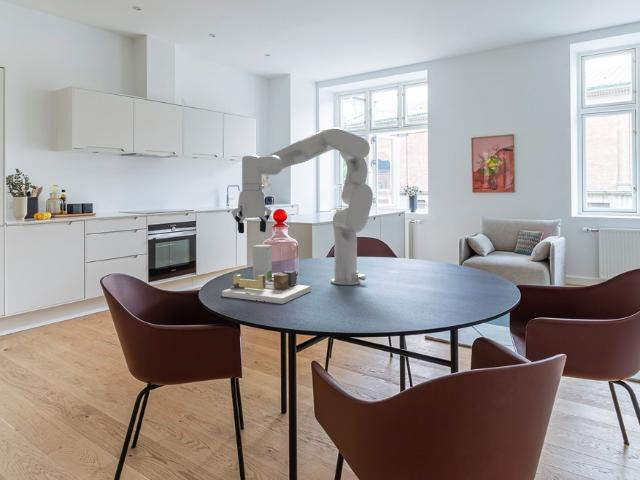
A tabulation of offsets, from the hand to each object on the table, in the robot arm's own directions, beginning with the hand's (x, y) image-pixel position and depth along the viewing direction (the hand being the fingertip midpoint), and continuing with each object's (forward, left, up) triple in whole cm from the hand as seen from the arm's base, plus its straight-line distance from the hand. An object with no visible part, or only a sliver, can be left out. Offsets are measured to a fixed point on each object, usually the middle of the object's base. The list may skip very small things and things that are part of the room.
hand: (252, 232), depth 182 cm
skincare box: (+7, -18, -23) cm, 30 cm away
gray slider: (-13, -6, -20) cm, 25 cm away
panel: (-8, +2, -23) cm, 24 cm away
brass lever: (-2, +6, -20) cm, 21 cm away
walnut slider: (-13, +1, -20) cm, 24 cm away
